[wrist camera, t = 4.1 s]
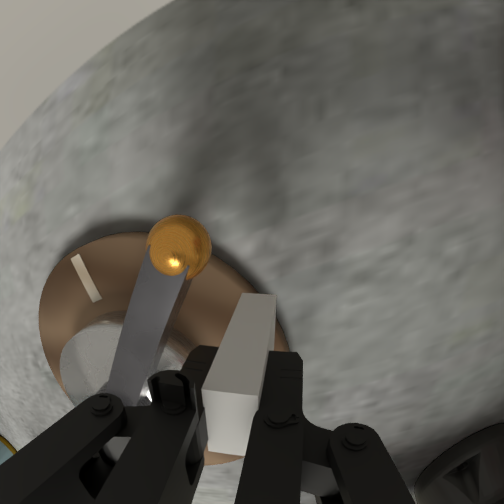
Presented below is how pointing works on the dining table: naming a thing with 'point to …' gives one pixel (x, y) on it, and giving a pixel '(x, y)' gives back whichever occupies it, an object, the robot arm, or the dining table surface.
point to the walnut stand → (119, 295)
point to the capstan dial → (140, 321)
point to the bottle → (5, 450)
